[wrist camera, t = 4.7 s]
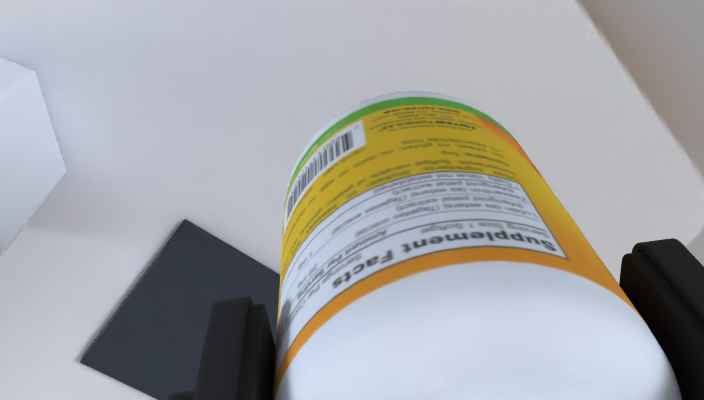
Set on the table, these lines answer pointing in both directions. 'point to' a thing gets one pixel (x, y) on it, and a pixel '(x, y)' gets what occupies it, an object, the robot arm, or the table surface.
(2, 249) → the jar
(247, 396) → the robot arm
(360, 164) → the supplement bottle
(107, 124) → the table surface
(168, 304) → the coaster mat
